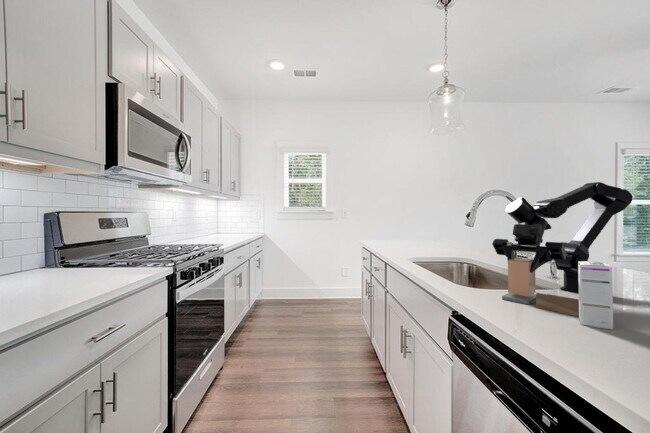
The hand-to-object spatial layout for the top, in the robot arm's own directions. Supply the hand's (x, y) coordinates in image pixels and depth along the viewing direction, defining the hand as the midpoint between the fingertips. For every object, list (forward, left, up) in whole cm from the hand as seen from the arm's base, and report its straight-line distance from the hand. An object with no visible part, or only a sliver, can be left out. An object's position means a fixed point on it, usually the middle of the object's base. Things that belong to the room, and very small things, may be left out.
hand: (519, 270), depth 89 cm
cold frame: (0, +10, -9) cm, 14 cm away
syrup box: (+8, +18, -9) cm, 22 cm away
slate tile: (-1, 0, -9) cm, 9 cm away
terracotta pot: (-1, 0, -7) cm, 7 cm away
